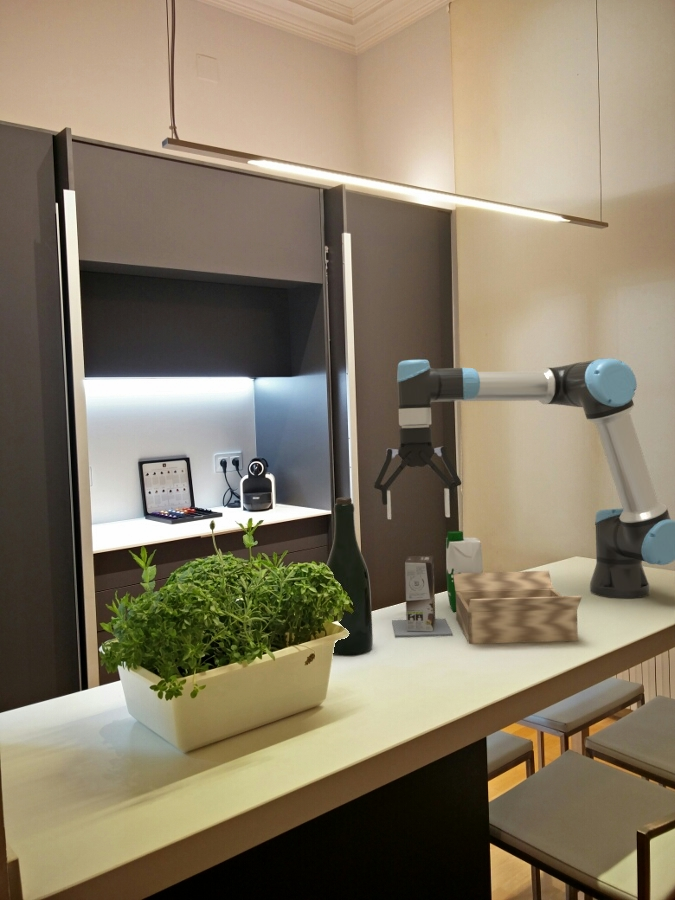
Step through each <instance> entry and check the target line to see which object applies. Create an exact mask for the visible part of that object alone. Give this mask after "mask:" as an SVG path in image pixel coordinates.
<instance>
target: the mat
mask: <svg viewBox="0 0 675 900" xmlns="http://www.w3.org/2000/svg"><path fill="white" fill-rule="evenodd" d="M391 622H392V628H393V634H394V638H420V637H423V638H424V637H453V636H454V634H453V632H452V629H451V627H450V625H449V622H448V621H447V619H446V618H435V625H434V630H433V632H423V631H407V623H406V619H392V620H391Z"/></svg>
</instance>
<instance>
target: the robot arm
mask: <svg viewBox="0 0 675 900" xmlns="http://www.w3.org/2000/svg"><path fill="white" fill-rule="evenodd" d="M396 373H397V375H396V376H397V377H396V378H397V379H396V383H397V396H398V397H397V401H398V425H399V426H401V428H399V431H398V433H399V434H398V435H399V447H398V449H394V448H389V447H388V448H387V449H386V452H385V453H386V455H385V459H384V461H383V462H382V466H381V468H380V469H379V472H378V475H377V477H376V478H375V481H374V483H373V488H374V489H377V490H380V491H381V503H382V505H384V506H386V509H387V510H386V512H387V513H386V514H387V515H386V517H387V520H392V506H391V505H392V503H391V502H392V501H391V498H392V497H391V490H389V488H390V487H391V485H393V483H394V482H395V480H396V479H397V477H399V475H400V474H401V472H402V471H404V469H405V468H406V467H409V468H414V467H421V468H422V467H423V468H424V467H425V466H428V467H429V468H430V469H431V470H432V471H433V473H434V474H436V476H437V477H438V478H439V479H440V480H441V481H442V482H443V483H444V485H446V487H445V488H444V491H443V492H444V516H445V517H446V518H450V517H451V513H450V512H451V511H450V510H451V509H450V503H454V501H455V491H454V490H455V488H456V487H459V486H461V485H462V481H461V479H460V477H459V476H458V474H457V472H456V470H455V468H454V466H453V464H452V462H451V460H450V459H449V457H448V453H447V447H446V446H443V445H441V446H438V447H435V448H434V446H433V431H432V430H433V429H432V428H431V427H430V425H432V409H431V408H432V405H431V404H432V403H436V402H438V403H439V402H440V403H441V402H442V403H443V402H444V403H445V402H448V403H449V402H509V401H510V402H511V401H513V402H514V401H519V402H522V401H523V402H524V401H532V402H533V401H538V402H540V404H542V405H558V406H565V407H566V406H567V407H575V408H582V409H583V412H584V414H585V418H586V420H587V421H589V422H591V423H594V425H595V427H596V431H597V434H598V436H599V441H600V443H601V445H602V446H601V447H602V449H603V453H604V455H605V458H606V461H607V464H608V467H609V470H610V473H611V476H612V480H613V483H614V486H615V489H616V492H617V495H618V498H619V501H620V503H621V508H620V507H619V508H608V509H600V510H599V509H598V510H597V512H596V513H595V521H594V526H595V548H596V549H595V550H596V551H595V553H596V554H595V556H596V557H595V558H596V565H595V567H594V570H593V572H592V576H591V580H590V583H589V586H590V587H589V589H590V590H589V591H590V592H591V593H593V594H594V595H598V596H602V597H606V598H616V599H635V598H643V597H646V596H648V595H649V594H650V583H649V580H648V578H647V575H646V573H645V570H644V567H643V563H642V562H645V563H648V564H649V565H659V566H665V565H669V564H671V563H673V562H675V519H671V516H670V513H669V509H668V507H667V505H666V504H664V503H663V502H660V501H659V499H658V497H657V494H656V491H655V488H654V484H653V481H652V478H651V474H650V472H649V469H648V465H647V462H646V459H645V456H644V453H643V450H642V447H641V444H640V441H639V437H638V435H637V431H636V428H635V424H634V422H633V419H632V416H631V411H632V410H633V409H634V407H635V404H634V401H633V398H634V397H635V394H636V392H635V391H636V390H637V386H638V385H637V384H638V383H637V378H636V375H635V373H634V371H633V370H632V368H631V367H630V366H629V365H628V364H627V363H626V362H624V361H621V360H619V359H615V358H599V359H593V360H588V361H582V362H575V363H572V364H567V365H561V366H555V367H543V368H541V369H540V370H539V371H477V369H475V368H472V367H464V366H462V367H448V368H447V367H446V368H432V367H431V365H430V362H429V360H428V359H408V360H407V359H405V360H401V361H399V363H398V364H397V371H396ZM434 454H436V455H437V456H438V457H440V458H441V460H442V462H443V464H444V465H445V468H446V469H447V471H448V473H449V475H450V476H451V478H452V480H453V481H451V480H450V479H449V478H448V477H447V476H446V475H445V473H443V472H442V470H441V469H440V468H439V467H438V466H437V465H436V464H435V462H434V461H433V460H432V458H433V456H434ZM396 455H398V456H399V457H400V459H401V461H400V463H398V465H397V467H395V469H394V470H393V472H392V473H391V474H390V475H389V477H388V478H387V479H386V481H385V482H384V483H383V484H382V481H383V480H384V477H385V475H386V473H387V471H388V468H389V466H390V465H391V462H392V459H395V457H396Z"/></svg>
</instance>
